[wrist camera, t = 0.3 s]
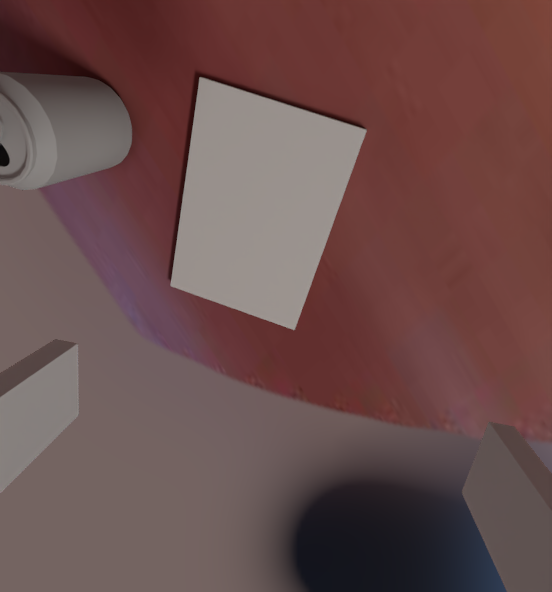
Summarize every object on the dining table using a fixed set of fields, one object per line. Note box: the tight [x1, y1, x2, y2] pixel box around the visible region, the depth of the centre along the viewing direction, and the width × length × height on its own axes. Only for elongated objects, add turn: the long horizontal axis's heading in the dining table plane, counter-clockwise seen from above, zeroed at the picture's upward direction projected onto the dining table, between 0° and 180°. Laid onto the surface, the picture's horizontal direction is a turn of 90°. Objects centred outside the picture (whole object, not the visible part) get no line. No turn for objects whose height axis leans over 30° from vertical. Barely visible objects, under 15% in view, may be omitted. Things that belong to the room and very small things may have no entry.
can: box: [0, 72, 132, 190], centre depth 30 cm, size 8×8×12 cm
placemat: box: [171, 77, 367, 330], centre depth 35 cm, size 20×14×1 cm
